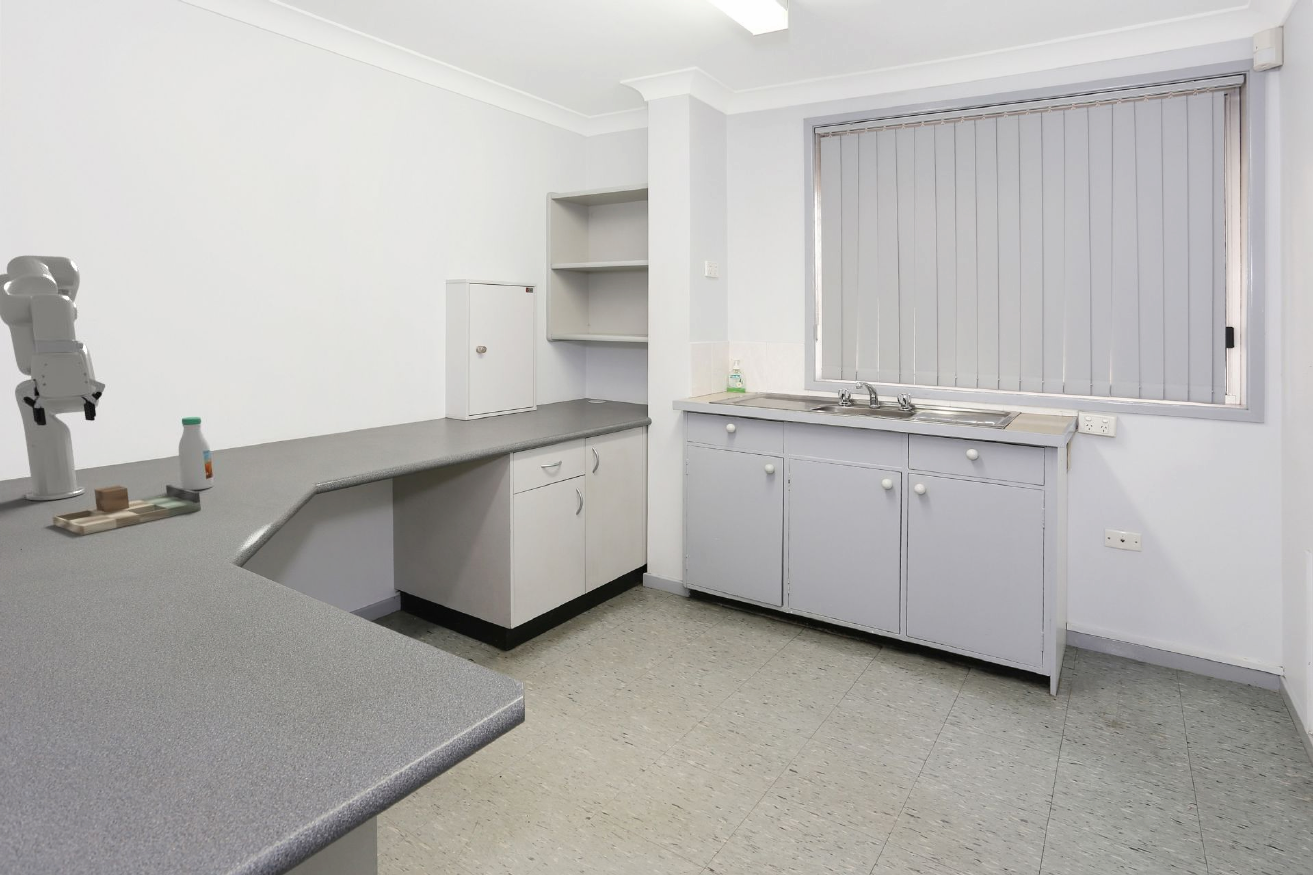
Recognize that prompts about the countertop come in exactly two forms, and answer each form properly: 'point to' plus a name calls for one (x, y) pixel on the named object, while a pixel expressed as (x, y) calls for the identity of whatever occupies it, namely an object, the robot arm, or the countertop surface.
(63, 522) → the trap board
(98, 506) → the walnut block
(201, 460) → the milk bottle
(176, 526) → the countertop surface
